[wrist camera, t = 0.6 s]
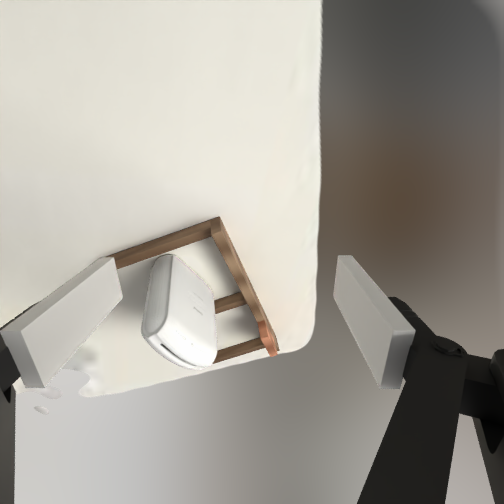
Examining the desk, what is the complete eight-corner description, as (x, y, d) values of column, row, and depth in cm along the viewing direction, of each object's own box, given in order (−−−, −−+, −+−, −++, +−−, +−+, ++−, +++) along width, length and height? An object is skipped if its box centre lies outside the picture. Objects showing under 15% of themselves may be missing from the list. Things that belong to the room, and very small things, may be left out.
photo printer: (217, 291, 40) (224, 370, 31) (194, 302, 41) (193, 383, 32) (173, 247, 34) (165, 332, 24) (146, 262, 34) (128, 349, 25)
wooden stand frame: (104, 257, 33) (90, 293, 28) (219, 216, 32) (223, 248, 27) (202, 359, 52) (202, 390, 47) (275, 336, 51) (283, 366, 46)
